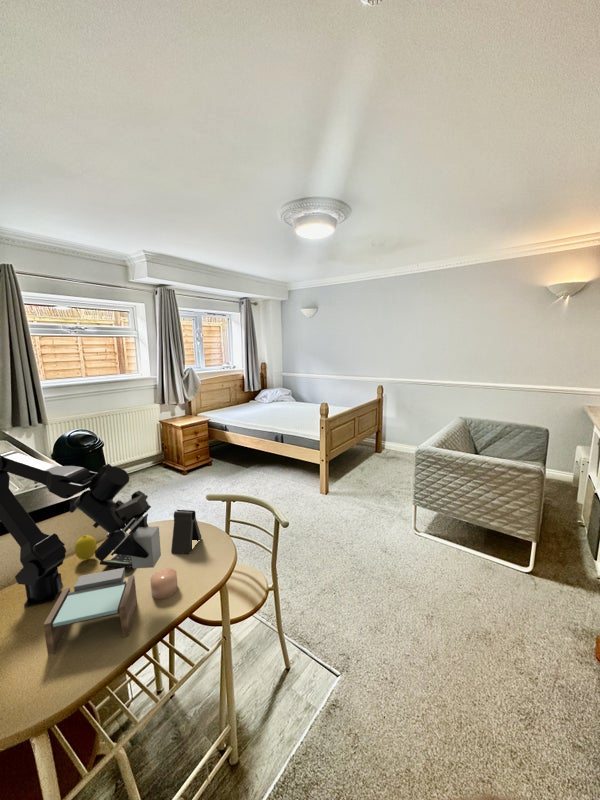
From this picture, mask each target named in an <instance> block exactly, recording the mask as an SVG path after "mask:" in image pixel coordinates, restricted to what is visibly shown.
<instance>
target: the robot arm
mask: <svg viewBox="0 0 600 800" xmlns="http://www.w3.org/2000/svg"><path fill="white" fill-rule="evenodd" d="M9 473H10V474H12V475H14V476H18V477H20V478H24V479H27V480H30V481H32V482H36V483H39V484H41V485H44V486H45V487H46V488H47V490H48V491H49V492H50V493H51V494H53V495H55V496H57V497H58V498H61V499H64V500H66V499H67V500H68V499H70V498H72V497H73V496H75V497H74V498H72V499H71V500H70V501H69V505H70V506H69V513H70V514H72V513H74V512H75V511H76V510H79V511H81V512H82V513H83V514H85V516H87V517H89V518H90V519H91V520H92V521H93V522H94V523H93V524H92V526H93V527H94V529H97V528H98V527H101V528H102V529H103V530H105V531H106V532H107V533H108V534H107V535H106V539H105V540H104V541H103V542H102V543H101V544H100V545H99V546H98V547H97V549H96V551H95V554H94V557H95V559H98V560H99V562H100V561H101V562H102V561H105V559H107V557H108V556H109V555H111V556H113V557H114V555H117V554H119V555H129V556H135V557H141V558H147V557H148V556H149V554H148V553H147V552H146V550H145V549H144V548H143V547H141V546H140V545H139V544H138V543H137V542H136V541H135V540H134V536H133V534H134V532H135V531H136V530H137V529H138V528H139V527H150V526H149V525H148V516H149V513H147V512H148V511H149V510H150V509H151V508H152V506H151V505H150V504H149V503H148V500H147V499H148V495H147V494H145V493H144V492H143V491H140V490H137V491H135V492H133V493H132V494H131V497H130V499H129V500H128V501H126V502H123V501H121V500H119V499H118V500H117V501H116V502H115V501H114V500H113V499H114V498H115V497H116V496H117V495H118V494H119V493H120V492H121V491H122V490H123V489H124V488H125V487H126V486H127V484H128V483H129V482H130V476H129V473H128V472H127V471H126V470H125V469H123V468H120V467H118V466H112V465H111V464H110V463H107V464H105V465H103V466H101V467H100V469H99V470H98V472H96V471H92V470H89V469H87V467H86V468H85V467H83V466H82V467H81V466H76V465H64V466H63V465H55V464H53V463H49V462H47V461H44V460H40V459H38V458H34V457H32V456H28V455H26V454H22V453H20V451H18V450H11V449H10V450H8V451H4V452H1V453H0V522H1V523H2V524H3V526H4V527H5V528H6V530H7V531H8V533H9V534H10V536H12V538H13V539H14V540H15V542H16V543H17V544H18V546H19V548H20V549H19V550H20V553H19V561H20V564H21V565H22V568H21V569H20V571H18V573H17V574H16V575H15V576H14V578H15V580H16V583H17V584H18V585H24V587H25V594H26V601H25V602H24V604H23V606H24V607H30V606H36V605H40V604H44V603H49V602H53V601H55V600H56V598H57V597H58V595H59V593H60V592H61V590H62V588H63V586H64V584H63V581H62V574H61V573H60V572H59V569H58V568H59V567H60V566H62V565H63V564H64V560H65V558H66V553H67V548H66V547H65V545H66V544H65V543H64V542H62V540H61V539H60V537H59V536H58V534H56V533H55V532H54V533H52V534H50V535H49V534H47V533H44V532H42V529H40V527H39V526H38V525H37V524H36V522H35V521H34V520H33V518H32V517H31V516H30V515H29V512H27V510H26V509H25V508H24V507H23V505H22V504H21V502H20V501H19V500H18V499H17V497H16V496H15V494H14V493H13V491H12V490H11V489H10V480H11V479H10V478H11V476H10V474H9ZM80 493H81V494H80ZM78 494H80V495H79V496H76V495H78ZM128 530H130V531H128Z"/></svg>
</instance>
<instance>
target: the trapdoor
mask: <svg viewBox="0 0 600 800" xmlns="http://www.w3.org/2000/svg"><path fill="white" fill-rule="evenodd" d="M125 568H126V567H119V568H117V569H111V570H105V571H104V570H103V571H99V572H95V573H90V574H89V573H88V574H84V575H83V574H82V575H79V576H78V578H77V580H76V582H75V584H74V586H73V591H70V592H69V593H68V596H67V598H66V600H65V602H64V604H63V606H62V607H61V609H60V611H59V613H58V615H57V617H56V619H55V620H54V622H53V627H56V626H60V625H65V624H69V625H70V624H73V623H77V622H82V621H86V620H93V619H95V618H101V617H105V616H110V615H115V614H118V613H119V607H120V604H121V600H122V597H123V594H124V591H125V587H126V584H127V581H126V580H125V577H126V569H125Z"/></svg>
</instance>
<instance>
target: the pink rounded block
mask: <svg viewBox="0 0 600 800" xmlns="http://www.w3.org/2000/svg"><path fill="white" fill-rule="evenodd" d="M177 574H178V573H177V571H176V569H174V568H171V567H170V568H163V569H160V570H157V571H155V572H154V573H153V574H152V575H151V577H150V579H149V580H150V581H149V582H150V590H151V591H150V592H151V596H152V597H153V599H156V600H164V599H166V598H170V597H172V596H173V595H174V594H175V593H176V592H177V591H178V587H179V585H178V575H177Z"/></svg>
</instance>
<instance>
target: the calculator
mask: <svg viewBox="0 0 600 800" xmlns="http://www.w3.org/2000/svg"><path fill="white" fill-rule="evenodd" d="M99 565H100V566H112V567H119V568H133V566H132V556H129V555H119V554H115V556H113V557H112V558H111V559H109V560H108V559H107V560H103V561H102V562H101V561H100V560H99Z"/></svg>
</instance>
